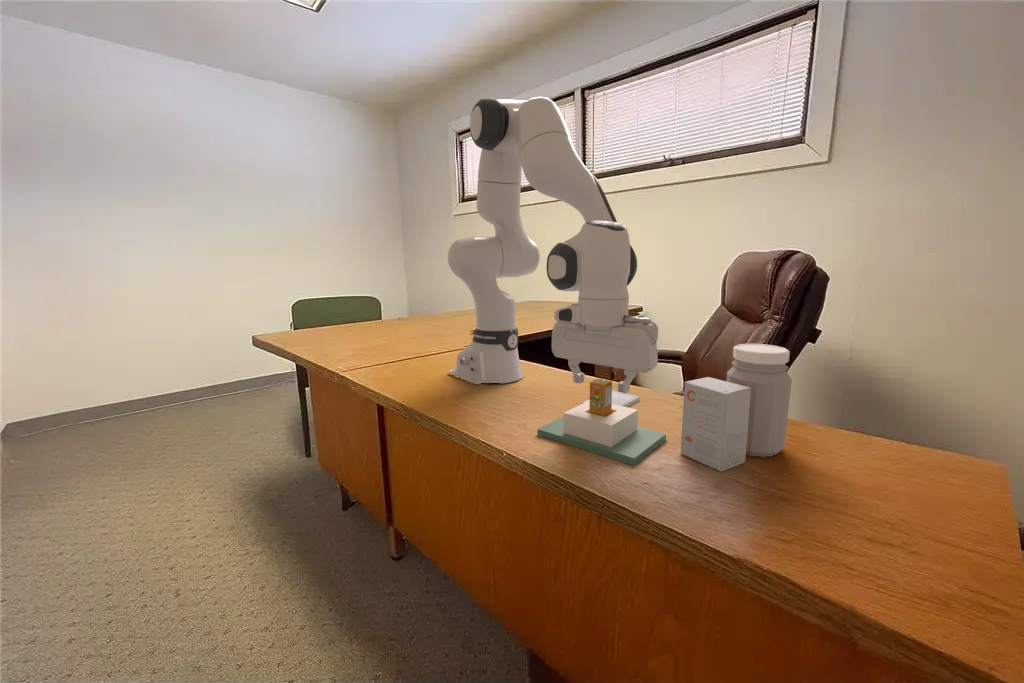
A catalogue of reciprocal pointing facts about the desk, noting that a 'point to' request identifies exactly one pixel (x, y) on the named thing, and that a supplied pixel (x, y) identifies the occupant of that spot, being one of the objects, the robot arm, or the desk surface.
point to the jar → (763, 394)
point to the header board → (616, 452)
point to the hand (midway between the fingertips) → (600, 387)
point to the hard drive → (622, 399)
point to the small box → (715, 422)
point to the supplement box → (600, 397)
